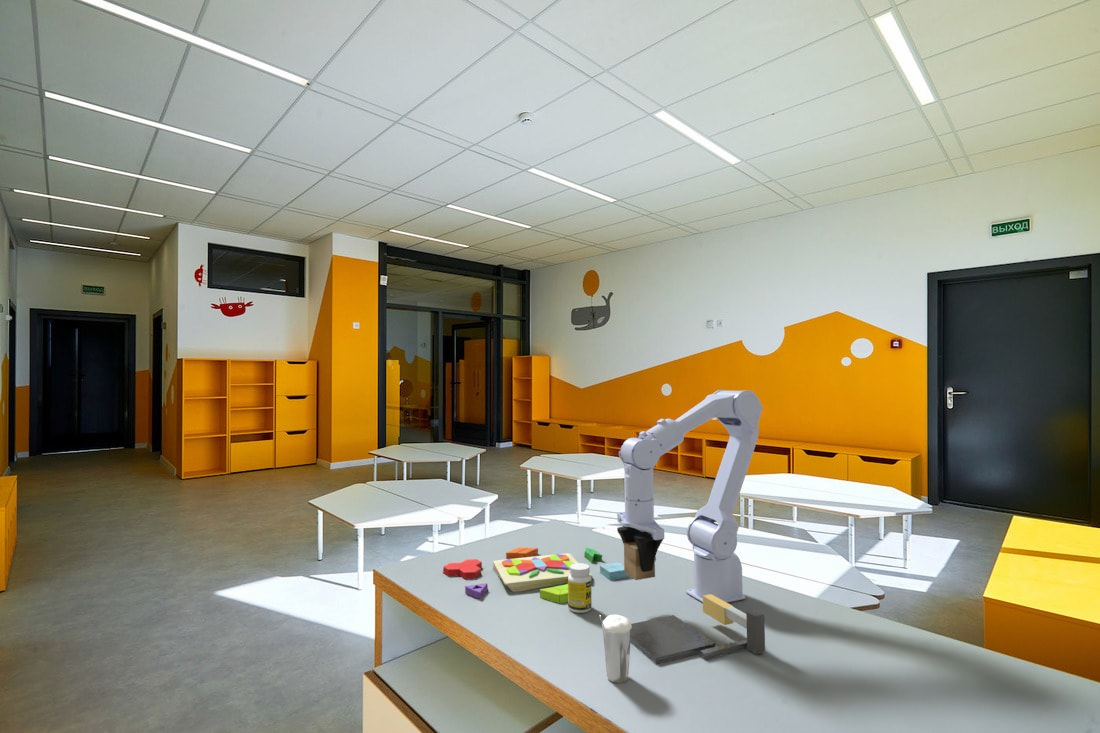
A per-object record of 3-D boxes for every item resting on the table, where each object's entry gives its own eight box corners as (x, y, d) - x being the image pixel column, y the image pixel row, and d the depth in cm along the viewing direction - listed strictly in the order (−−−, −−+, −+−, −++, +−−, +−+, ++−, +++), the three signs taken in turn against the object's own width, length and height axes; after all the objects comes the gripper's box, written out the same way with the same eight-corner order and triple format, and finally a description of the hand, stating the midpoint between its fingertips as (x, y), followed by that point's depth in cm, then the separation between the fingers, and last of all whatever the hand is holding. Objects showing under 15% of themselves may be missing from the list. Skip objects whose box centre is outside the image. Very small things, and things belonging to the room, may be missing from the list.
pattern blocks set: (568, 545, 151) (568, 534, 151) (648, 583, 122) (648, 569, 123) (437, 571, 131) (437, 558, 132) (496, 623, 103) (496, 607, 103)
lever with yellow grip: (711, 618, 102) (711, 586, 102) (765, 651, 90) (764, 614, 90) (703, 620, 101) (702, 587, 101) (755, 653, 89) (755, 616, 89)
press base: (707, 613, 105) (707, 607, 105) (760, 645, 92) (760, 639, 92) (618, 632, 98) (618, 626, 98) (662, 670, 85) (662, 663, 85)
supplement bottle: (590, 614, 105) (589, 571, 105) (566, 612, 106) (565, 569, 106) (593, 604, 110) (592, 562, 110) (570, 602, 111) (569, 561, 111)
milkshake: (592, 674, 84) (592, 609, 84) (622, 667, 86) (621, 603, 86) (607, 690, 79) (606, 621, 80) (638, 681, 82) (637, 615, 82)
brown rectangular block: (648, 568, 111) (647, 539, 111) (660, 576, 107) (659, 545, 107) (624, 572, 109) (624, 542, 109) (635, 580, 105) (635, 549, 105)
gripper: (604, 493, 113) (605, 558, 113) (641, 508, 100) (642, 581, 99) (633, 490, 116) (634, 553, 116) (673, 504, 102) (674, 576, 102)
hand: (640, 566), depth 108 cm, fingers closed on brown rectangular block, 4 cm apart
